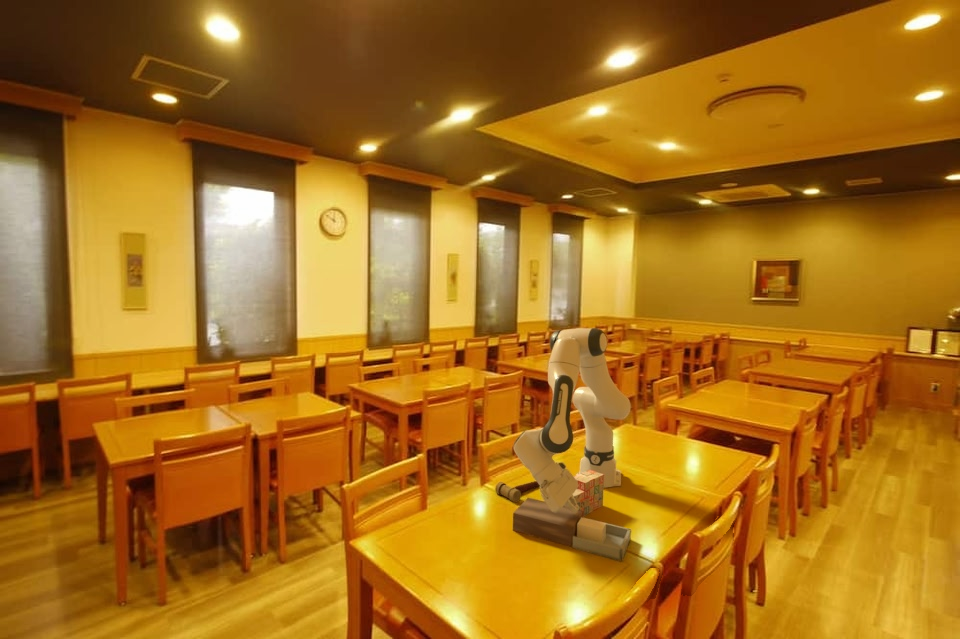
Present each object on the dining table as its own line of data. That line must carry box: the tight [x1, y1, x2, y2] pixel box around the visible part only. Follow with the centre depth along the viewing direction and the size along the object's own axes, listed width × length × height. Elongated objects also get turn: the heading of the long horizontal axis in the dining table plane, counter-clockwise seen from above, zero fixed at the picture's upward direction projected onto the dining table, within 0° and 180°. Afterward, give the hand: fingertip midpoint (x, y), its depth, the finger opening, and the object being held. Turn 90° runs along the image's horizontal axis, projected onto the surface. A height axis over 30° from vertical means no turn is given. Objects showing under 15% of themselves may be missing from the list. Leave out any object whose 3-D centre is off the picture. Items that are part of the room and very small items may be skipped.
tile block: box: [577, 516, 607, 544], centre depth 150 cm, size 5×5×8 cm
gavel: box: [494, 480, 540, 503], centre depth 186 cm, size 21×5×10 cm
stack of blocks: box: [572, 470, 605, 517], centre depth 169 cm, size 21×6×12 cm, turn 133°
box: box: [572, 517, 632, 562], centre depth 148 cm, size 14×15×4 cm
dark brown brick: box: [512, 497, 584, 548], centre depth 157 cm, size 13×20×6 cm, turn 62°
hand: (577, 511), depth 152 cm, fingers closed
